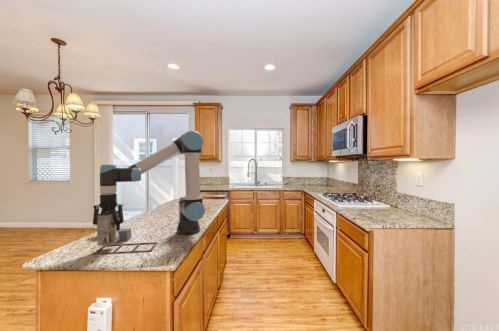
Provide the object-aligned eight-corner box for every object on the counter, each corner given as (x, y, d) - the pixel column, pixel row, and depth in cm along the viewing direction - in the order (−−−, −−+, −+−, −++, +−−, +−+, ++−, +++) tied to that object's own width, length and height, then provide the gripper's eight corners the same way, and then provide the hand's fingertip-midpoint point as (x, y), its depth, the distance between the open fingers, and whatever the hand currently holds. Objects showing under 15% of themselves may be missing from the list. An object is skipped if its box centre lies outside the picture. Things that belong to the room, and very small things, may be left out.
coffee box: (108, 240, 127) (107, 210, 127) (119, 240, 127) (119, 210, 127) (96, 245, 118) (96, 214, 118) (109, 245, 118) (109, 214, 118)
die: (131, 237, 142) (130, 227, 141) (127, 241, 136) (127, 230, 136) (120, 238, 141) (120, 228, 141) (116, 241, 135) (116, 231, 135)
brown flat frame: (157, 243, 132) (157, 242, 132) (151, 251, 119) (151, 250, 119) (104, 245, 128) (104, 244, 128) (92, 254, 115) (92, 253, 115)
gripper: (130, 192, 127) (131, 234, 128) (91, 193, 125) (92, 235, 125) (125, 194, 120) (125, 238, 120) (83, 195, 117) (84, 240, 117)
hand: (108, 237), depth 122 cm, fingers closed on coffee box, 7 cm apart
